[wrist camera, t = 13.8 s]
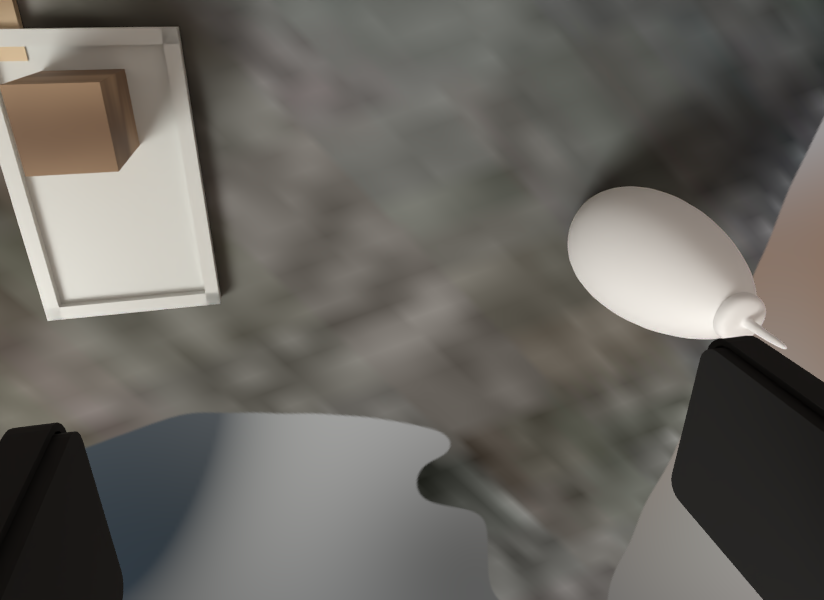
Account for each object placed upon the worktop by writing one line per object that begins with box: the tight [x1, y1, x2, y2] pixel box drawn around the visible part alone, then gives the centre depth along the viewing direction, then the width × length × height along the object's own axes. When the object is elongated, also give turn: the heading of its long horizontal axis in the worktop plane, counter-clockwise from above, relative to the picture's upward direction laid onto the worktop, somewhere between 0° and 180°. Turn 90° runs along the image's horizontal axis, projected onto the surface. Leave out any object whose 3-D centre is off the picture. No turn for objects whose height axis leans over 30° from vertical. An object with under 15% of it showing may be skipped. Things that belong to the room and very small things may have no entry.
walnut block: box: [0, 69, 140, 177], centre depth 30 cm, size 4×4×6 cm
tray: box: [0, 27, 221, 321], centre depth 34 cm, size 16×10×1 cm, turn 0°
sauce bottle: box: [568, 186, 787, 349], centre depth 35 cm, size 8×8×18 cm
